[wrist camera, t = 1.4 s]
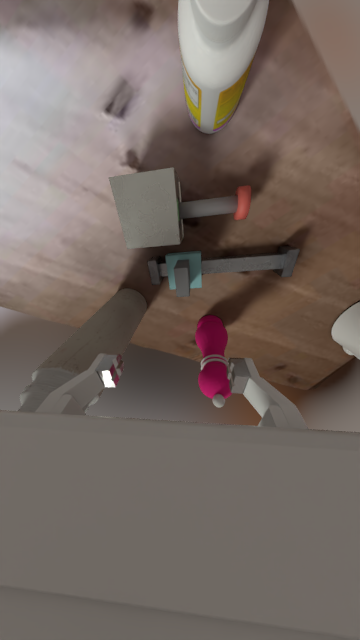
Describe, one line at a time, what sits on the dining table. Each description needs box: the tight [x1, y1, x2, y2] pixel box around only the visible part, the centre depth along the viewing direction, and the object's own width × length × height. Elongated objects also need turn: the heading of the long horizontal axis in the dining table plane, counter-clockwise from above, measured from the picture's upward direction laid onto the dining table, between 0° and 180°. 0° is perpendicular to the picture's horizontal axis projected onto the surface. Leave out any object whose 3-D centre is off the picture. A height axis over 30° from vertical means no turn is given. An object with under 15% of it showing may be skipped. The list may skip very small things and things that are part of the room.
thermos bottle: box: [18, 289, 147, 412], centre depth 26 cm, size 8×8×28 cm
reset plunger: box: [179, 185, 251, 220], centre depth 22 cm, size 11×4×4 cm, turn 96°
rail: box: [147, 246, 300, 285], centre depth 29 cm, size 25×4×4 cm, turn 96°
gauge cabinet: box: [109, 167, 184, 249], centre depth 23 cm, size 8×8×8 cm
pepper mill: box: [195, 315, 232, 407], centre depth 30 cm, size 7×7×20 cm
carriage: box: [165, 251, 202, 297], centre depth 27 cm, size 6×6×9 cm
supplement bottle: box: [178, 0, 269, 134], centre depth 14 cm, size 7×7×13 cm
